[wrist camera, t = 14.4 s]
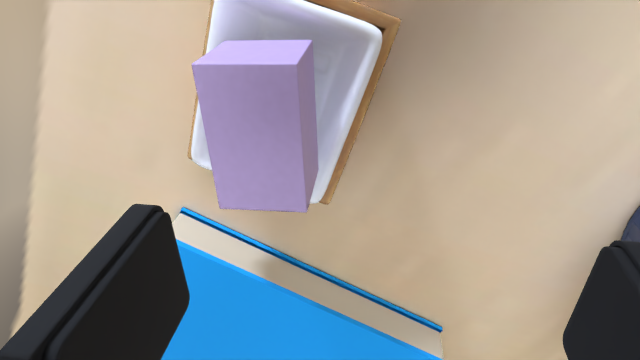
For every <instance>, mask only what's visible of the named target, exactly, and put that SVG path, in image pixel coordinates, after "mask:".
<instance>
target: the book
mask: <svg viewBox="0 0 640 360" xmlns="http://www.w3.org/2000/svg"><path fill="white" fill-rule="evenodd" d="M172 226H173V230H174V234H175V238H176V242H177V246H178V250H179V253H180V257H181V261H182V265H183V269H184V273H185V277H186V281H187V285H188V289H189V294H190V300H189V305H188V308H187V310H186V312H185V314H184V316H183V318H182V320H181V322H180V324H179V326H178V328H177V330H176V332H175V333H174V335H173V337H172V339H171V341H170V343H169V345H168V347H167V349H166V351H165V353H164V355H163V356H162V358H161V360H444V358H443V351H442V343H441V336H440V332H441V331H442V327H441V326H438V325H436V324H434V323H432V322H430V321H428V320H425V319H423V318H421V317H419V316H417V315H415V314H413V313H410V312H408V311H406V310H404V309H402V308H400V307H397V306H395V305H393V304H391V303H389V302H387V301H384V300H382V299H380V298H378V297H376V296H374V295H371V294H369V293H367V292H365V291H363V290H361V289H359V288H356V287H354V286H352V285H350V284H348V283H346V282H343V281H341V280H339V279H337V278H335V277H333V276H330V275H328V274H326V273H324V272H322V271H320V270H317V269H315V268H313V267H311V266H309V265H307V264H305V263H302V262H300V261H298V260H296V259H294V258H292V257H289V256H287V255H285V254H283V253H281V252H279V251H276V250H274V249H272V248H270V247H268V246H266V245H263V244H261V243H259V242H257V241H255V240H253V239H251V238H248V237H246V236H244V235H242V234H240V233H238V232H235V231H233V230H231V229H229V228H227V227H225V226H222V225H220V224H218V223H216V222H214V221H212V220H209V219H207V218H205V217H203V216H201V215H199V214H197V213H194V212H192V211H190V210H188V209H186V208H184V207H183V208H182V209H181V212H180V214H179V215H178V217H177V218H176V219H175V221H174V222H173V224H172Z"/></svg>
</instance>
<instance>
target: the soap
mask: <svg viewBox="0 0 640 360" xmlns="http://www.w3.org/2000/svg"><path fill="white" fill-rule="evenodd" d="M192 69H193V75H194V80H195V85H196V90H197V95H198V100H199V105H200V110H201V115H202V120H203V126H204V131H205V136H206V141H207V146H208V151H209V156H210V161H211V166H212V171H213V177H214V182H215V187H216V192H217V197H218V202H219V207H220V209H241V210H263V211H285V212H307V210H308V207H309V203H310V199H311V196H312V192H313V188H314V185H315V181H316V177H317V174H318V170H319V167H318V145H317V124H316V102H315V80H314V58H313V41H312V40H239V41H224V42H222V43H221V44H220V45H218V46H217V47H215V48H214V49H212V50H211V51H210V52H208V53H207V54H205V55H204V56H202V57H201V58H200V59H198V60H197V61H195V62H194V63H192Z"/></svg>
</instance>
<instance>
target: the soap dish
mask: <svg viewBox="0 0 640 360" xmlns="http://www.w3.org/2000/svg"><path fill="white" fill-rule="evenodd" d="M400 23H401V20H400V19H398V18H396V17H393V16H391V15H388V14H386V13H383V12H381V11H378V10H375V9H372V8H370V7H367V6H365V5H362V4H359V3H356V2H354V1H351V0H211V6H210V12H209V17H208V24H207V31H206V36H205V43H204V49H203V56H204V55H205V54H207V53H208V52H210V51H211V50H212V49H214V48H215V47H217V46H218V45H220V44H221V43H222V42H224V41H239V40H312V41H313V58H314V80H315V102H316V124H317V145H318V167H319V170H318V174H317V177H316V181H315V185H314V188H313V192H312V196H311V199H310V203H313V204H314V203H318V202H320V203H323V204H329V203H330V201H331V198H332V196H333V194H334V191H335V189H336V186H337V184H338V181H339V179H340V176H341V174H342V171H343V169H344V166H345V164H346V161H347V159H348V157H349V154H350V151H351V149H352V146H353V144H354V141H355V139H356V136H357V134H358V131H359V129H360V126H361V124H362V121H363V118H364V116H365V114H366V111H367V109H368V106H369V103H370V101H371V98H372V95H373V93H374V90H375V88H376V85H377V83H378V80H379V78H380V75H381V72H382V70H383V67H384V65H385V62H386V60H387V57H388V55H389V52H390V50H391V47H392V44H393V42H394V39H395V36H396V34H397V31H398V29H399V26H400ZM188 158H189V159H191V160H193V161H194V162H195V163H196V164H197V165H199V166H201V167H203V168H205V169H208V170H211V171H212V166H211V161H210V156H209V151H208V146H207V141H206V136H205V131H204V126H203V120H202V115H201V110H200V105H199V100H198V95H196V101H195V108H194V115H193V122H192V129H191V136H190V143H189V149H188Z"/></svg>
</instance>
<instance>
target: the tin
mask: <svg viewBox="0 0 640 360" xmlns="http://www.w3.org/2000/svg"><path fill="white" fill-rule="evenodd" d="M621 241H634V242H640V206H639V208H638V209H637V210H636V212H635V213H634V214H633V216H632V217H631V219H630V220H629V222H628V224H627V226H626V228H625V230H624V233H623V236H622V239H621Z"/></svg>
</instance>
